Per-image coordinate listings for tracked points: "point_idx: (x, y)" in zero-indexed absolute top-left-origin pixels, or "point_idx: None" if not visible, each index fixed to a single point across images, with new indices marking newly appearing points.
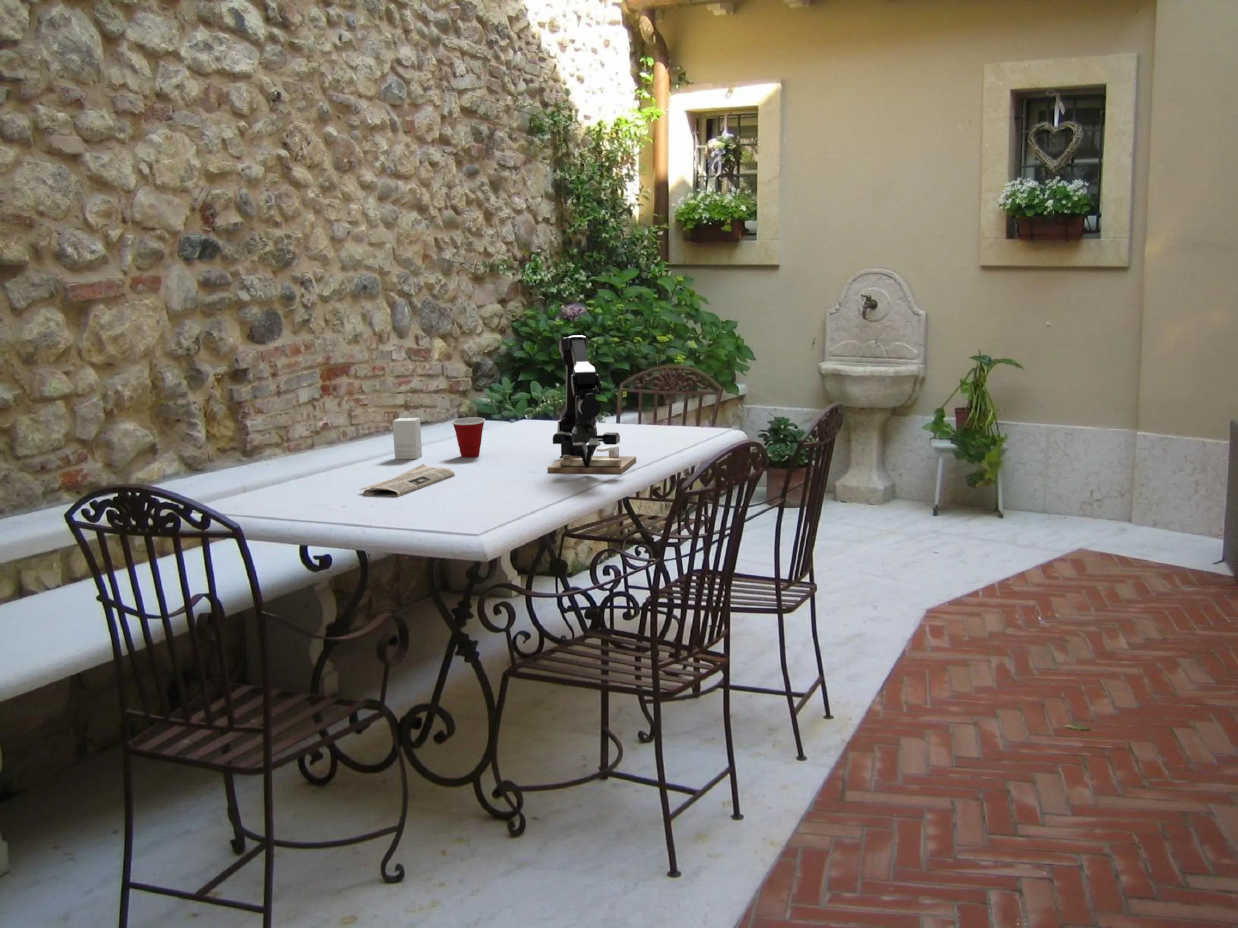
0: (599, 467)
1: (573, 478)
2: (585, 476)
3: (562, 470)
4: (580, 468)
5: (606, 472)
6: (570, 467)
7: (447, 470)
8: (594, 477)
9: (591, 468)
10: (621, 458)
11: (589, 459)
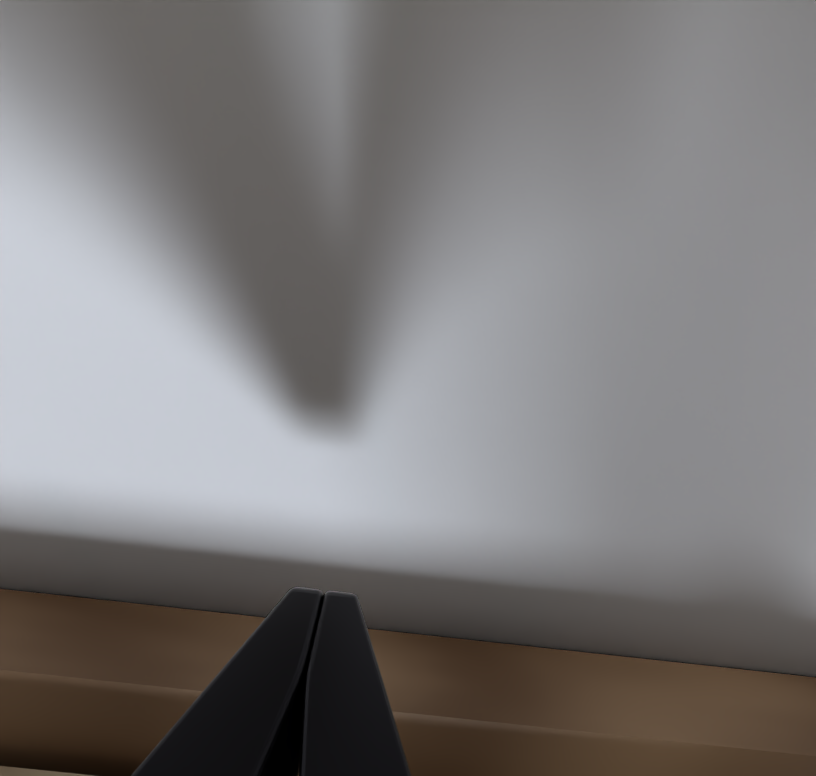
0: (140, 730)
1: (605, 38)
2: (339, 325)
3: (797, 705)
4: (482, 709)
5: (29, 603)
6: (671, 759)
7: None
8: (103, 186)
9: None
10: None
11: (153, 759)
